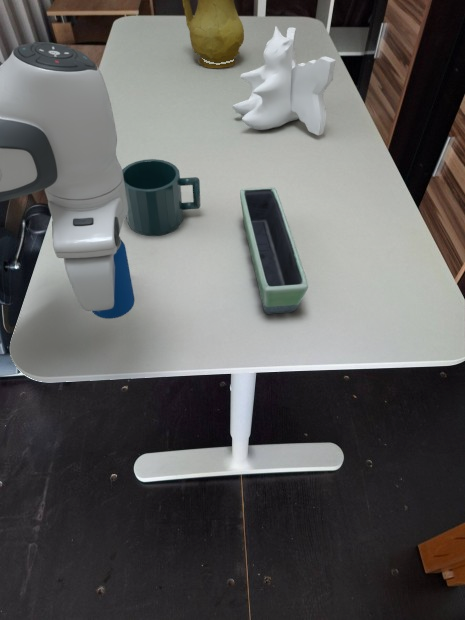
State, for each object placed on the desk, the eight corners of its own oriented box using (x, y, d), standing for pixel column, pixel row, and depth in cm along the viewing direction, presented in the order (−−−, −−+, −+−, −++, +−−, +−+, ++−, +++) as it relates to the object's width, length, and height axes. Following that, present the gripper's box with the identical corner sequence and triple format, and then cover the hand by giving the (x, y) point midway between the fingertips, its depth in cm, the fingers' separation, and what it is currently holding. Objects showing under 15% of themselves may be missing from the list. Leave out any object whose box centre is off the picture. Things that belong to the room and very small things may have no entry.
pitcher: (214, 74, 139) (212, -25, 122) (178, 61, 149) (172, -33, 132) (254, 64, 147) (257, -31, 130) (218, 51, 157) (216, -38, 140)
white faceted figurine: (222, 107, 125) (222, 19, 109) (292, 98, 130) (302, 13, 114) (253, 150, 109) (258, 55, 93) (331, 138, 114) (348, 46, 98)
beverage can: (81, 311, 65) (61, 248, 56) (109, 285, 69) (94, 221, 60) (117, 328, 63) (102, 265, 54) (143, 300, 67) (134, 237, 58)
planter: (237, 219, 91) (238, 188, 85) (272, 216, 91) (276, 186, 86) (260, 321, 72) (263, 290, 67) (303, 317, 73) (310, 286, 68)
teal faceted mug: (127, 238, 86) (118, 193, 78) (128, 204, 93) (120, 160, 86) (203, 232, 87) (202, 187, 80) (198, 199, 95) (196, 156, 87)
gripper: (69, 156, 59) (89, 238, 69) (50, 257, 46) (79, 341, 56) (117, 154, 60) (131, 236, 70) (113, 253, 46) (131, 336, 57)
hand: (108, 283), depth 63 cm, fingers closed on beverage can, 6 cm apart
